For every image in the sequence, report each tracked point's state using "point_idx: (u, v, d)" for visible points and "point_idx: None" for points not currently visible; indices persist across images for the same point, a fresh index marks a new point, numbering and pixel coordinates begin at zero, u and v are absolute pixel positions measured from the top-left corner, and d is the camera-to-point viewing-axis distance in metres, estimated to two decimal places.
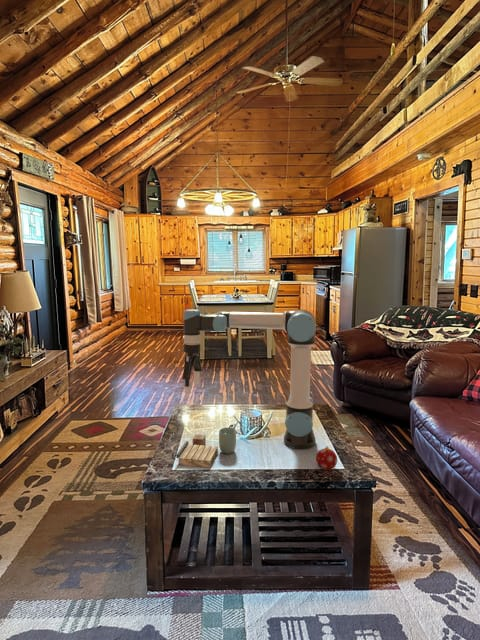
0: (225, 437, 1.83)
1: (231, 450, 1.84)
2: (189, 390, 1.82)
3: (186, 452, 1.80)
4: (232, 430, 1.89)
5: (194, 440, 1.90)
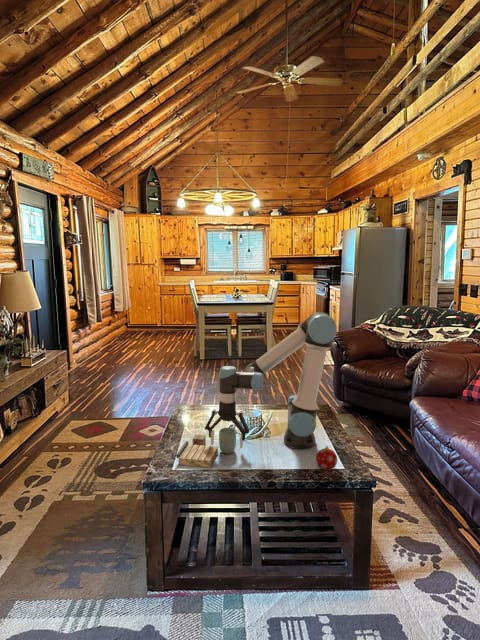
0: (225, 437, 1.83)
1: (231, 450, 1.84)
2: None
3: (186, 452, 1.80)
4: (232, 430, 1.89)
5: (194, 440, 1.90)
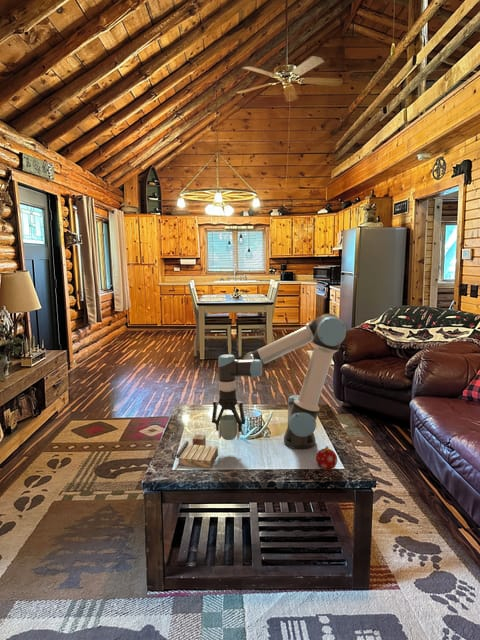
0: (226, 424, 1.82)
1: (233, 436, 1.83)
2: None
3: (186, 452, 1.80)
4: (233, 417, 1.88)
5: (194, 440, 1.90)
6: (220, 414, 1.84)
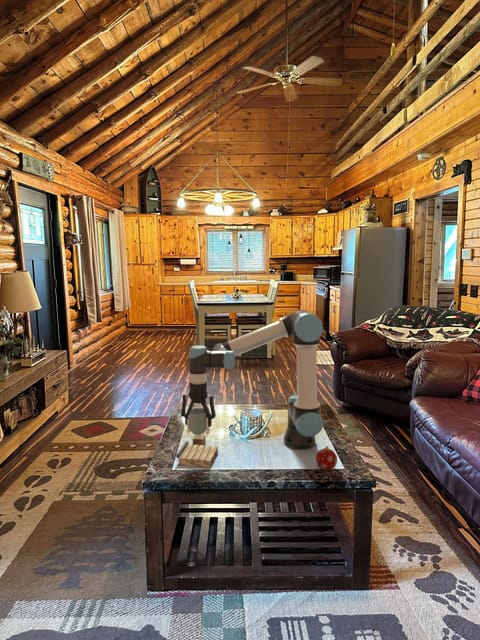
0: (195, 417, 1.74)
1: (202, 431, 1.76)
2: None
3: (186, 452, 1.80)
4: (203, 410, 1.80)
5: (194, 440, 1.90)
6: (189, 407, 1.77)
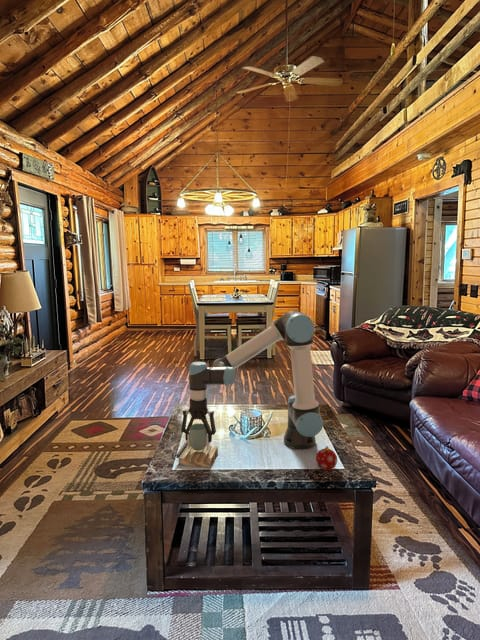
0: (195, 434, 1.75)
1: (202, 447, 1.77)
2: None
3: (186, 452, 1.80)
4: (204, 426, 1.81)
5: None
6: (190, 423, 1.78)
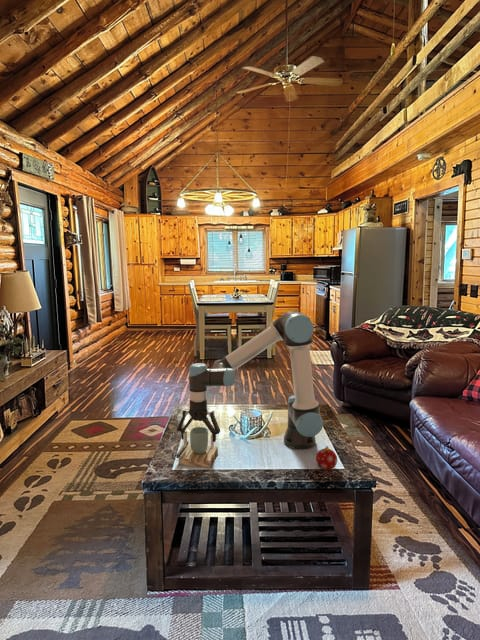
0: (195, 437, 1.75)
1: (202, 450, 1.77)
2: None
3: (186, 452, 1.80)
4: (204, 430, 1.81)
5: None
6: (188, 423, 1.78)
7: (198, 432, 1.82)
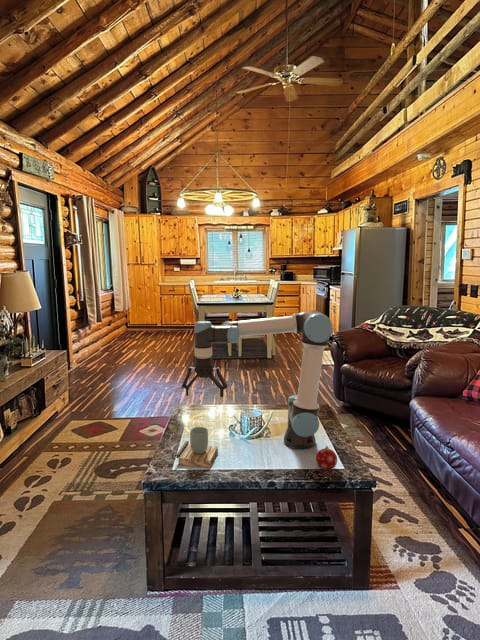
0: (195, 437, 1.75)
1: (202, 450, 1.77)
2: None
3: (186, 452, 1.80)
4: (204, 430, 1.81)
5: None
6: (193, 380, 1.80)
7: (198, 432, 1.82)
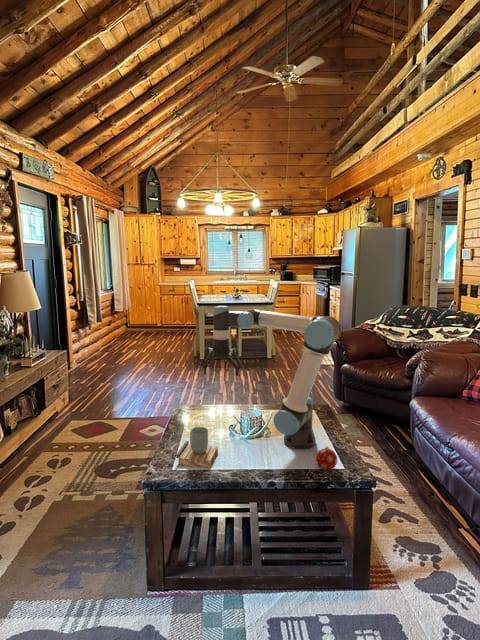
0: (195, 437, 1.75)
1: (202, 450, 1.77)
2: None
3: (186, 452, 1.80)
4: (204, 430, 1.81)
5: None
6: (211, 360, 1.97)
7: (198, 432, 1.82)
